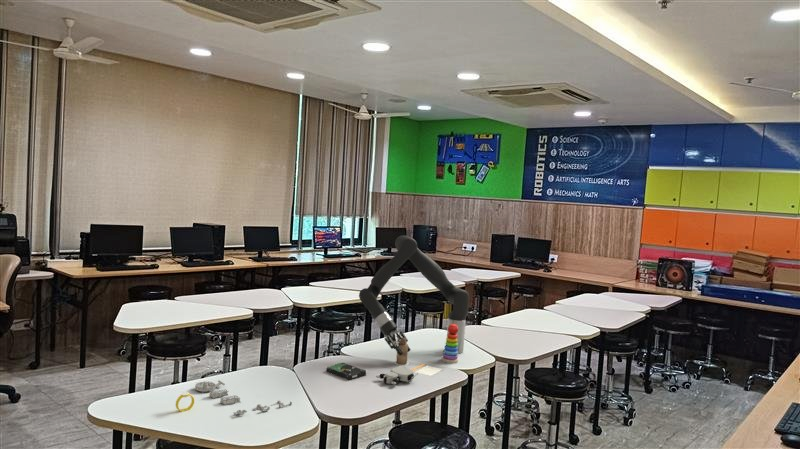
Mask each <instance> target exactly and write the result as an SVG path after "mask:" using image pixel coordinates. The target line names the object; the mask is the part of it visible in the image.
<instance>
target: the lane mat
mask: <svg viewBox="0 0 800 449" xmlns="http://www.w3.org/2000/svg"><path fill="white" fill-rule="evenodd" d="M393 363H394V364H395V365H397V366H400V367H403V366H408V365H410V362H408V361H407V364H405V365H400V364H397V363H396V361H394V362H393ZM425 365H426V363H423V364H420V365H418V366H416V367H414V368H412V369H411V370H412V371H413V372H414V371H415V373H416V374H417V373H418V374H422V375H425V376H430V377H431V376H432V377H433V376H434V375H436V374H438V373H439V372H441V371H443V369H442V368H440V367H434V366H430V365H426V366H425ZM421 367H422V368H421Z"/></svg>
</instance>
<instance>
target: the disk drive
mask: <svg viewBox="0 0 800 449" xmlns="http://www.w3.org/2000/svg"><path fill="white" fill-rule="evenodd" d="M326 371H327V372H326V373H328V372H329V373H328V374H331V373H332V375H334V376H336V377H339V378H342V379H345V380H347V381H353V380H357V379H359V378H363V377H366V376H367V371H366V370H365V369H363V368H359V367H356V366H354V365H350V364H349V363H345V362H340V363H337V364H334V365H330V366H327V367H326Z"/></svg>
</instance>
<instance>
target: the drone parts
mask: <svg viewBox="0 0 800 449" xmlns="http://www.w3.org/2000/svg"><path fill="white" fill-rule="evenodd" d="M194 385H195V387H194V389H195V390H196V391H198V392H201V393H203V394H204V393H206V392H209V394H208V396H210V397H211V398H212V399H216V398H219V399H220V400H219V401H220V403H221V404H223V405H224V406H226V405H234V404H235V403H237V404H238V403H241V397H239V396H238V395H237V394H236V395H231V396H228V395H229V394H228V393H229V391H228V389H225V390H224V389H220V390H218V389H217V391H216V390H215V389H216V388H217V387H220V386H221V385H222V386H225V385H226V384H225V383H224V382H223V381H221V380H219V379H218V381H217V383H215V382H212V381H199V382H197V383H196V384H194ZM276 405H278V408H288V407H290V406H292V405H293V402H292V401H289V403H288V404H284V402H281V399H279V400H277V402H276V403H273V404H272V406H276ZM270 407H271V406H268V405H264V406H263V405H262V404H261V403H258V404H257V405H256V407H253V408H252V410H255V411H257V410H258V411H261V412H267V411H269V410H270ZM247 412H248V410H246V409H242V410H241V409H238V410H236V411H234V412H233V414H238V415H239V416H242V415H245V413H247Z"/></svg>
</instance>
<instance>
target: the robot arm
mask: <svg viewBox="0 0 800 449" xmlns="http://www.w3.org/2000/svg"><path fill="white" fill-rule="evenodd" d="M394 245H395V248H396V250H397V251H396V253H395V255H394V256H393V257H392V258H391V259H390V260H389V261H388V262H386V263H385V264H383V266H381V267H380V268H379V269H378V271H376V273H375V274H374V276H373V277H372V278H371V281H370V284H369V286H368V287H367V288H362V289H361V290H360V292H359V293H358V297H359V300H360V302H361V303H362V305H364V307H365V308H366V309H367V311H368V312H369V313H370V315H371V317H372V318H373V320H374V321H375V323H376V325H377V327H378V328H379V330H380V331H381V333H382V334H383V335H384V337H385V338H384V341H385V342H386V344H387V345H388V346H389V348H390V349H394V350H395V351H396V353H397V352H398V354H399V355H402V354H403V351H402V350H401V348H400V347H398V346H399V345H398V343H401V338H402V337H403V338H406V344H408V341H409V340H408V338H407V336H406V335H405V332H403V330H400V331H399V330H398V326H397V324H396V323H395V320H394V319H393V318H392V316H391V315H390V314H389V312H387V310H386V308H385V307H384V306H383V304H381V303H380V302H379V301H378V297H379V295H380V294H381V291H382V290H383V288H384V287H385V286H386V285H387V283H388V282H389V281H390V279H391V278H392V277H393V276H394V274H396V272H397V271H398V270H399V269H400V268H401V267H402V266H403V265H404V264H405V262H406V261H408V260H409V261H410V262H411V263H412V264H413V266H414V267H415V268H416V269H417V271H418V272H419V273H420V274H422V275H423V277H424V278H425V279H426V280H427V281H428V282H430V283H431V285H432V286H434V287H435V288H436V289H437V290H439V292H440V293H441V294H442V295H443V296H444V297H445V299H446V300H447V301H448V303H450V304H451V305H453V306H452V310H451V311H450V312H448V316H447V328H446V329H447V330H446V335H447V334H448V333H449V331H448V327H449V325H451V324H455V325H457V326H458V332H457V333H456V334H457V336H458V337H457V338H456V339H457V343H458V345H457V347H458V350H457V351H458V354H462V353H464V347H465V334H466V323H467V322H466V319H467V315H468V314H469V307H470V306H469V305H470V294H469V292H468V291H467V290H465V289H462V288H460V287H457V285H454V284H453V283H452V282H451V281H450V280H449V279H448V278H447V275H446V272H445V271H444V270H443V269H442V267H441V266H440V265H439V264H438V263H436V261H435V260H434V259H432V258H430V256H428V255H427V254H425V253H424V252H423V251H421V249H419V248H418V242H417V241H416V240H415V239H414V238H412V237H410V236H408V235H403V234H402V235H400V236H398V237H397V238H396V239H395V243H394ZM410 351H412V350H411V348H410V346H409V345H408V353H409V352H410Z"/></svg>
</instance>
